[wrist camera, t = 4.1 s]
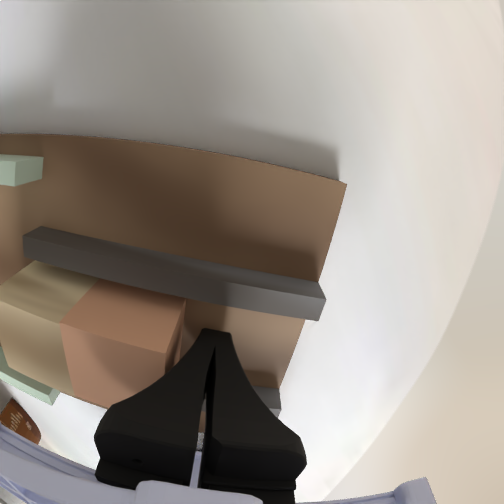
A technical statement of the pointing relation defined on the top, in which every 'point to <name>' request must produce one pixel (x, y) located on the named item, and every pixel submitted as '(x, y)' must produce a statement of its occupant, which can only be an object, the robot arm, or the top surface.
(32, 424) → the food container
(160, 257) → the groove board
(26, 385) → the tray
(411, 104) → the top surface
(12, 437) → the robot arm
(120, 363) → the terracotta block
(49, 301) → the birch block
